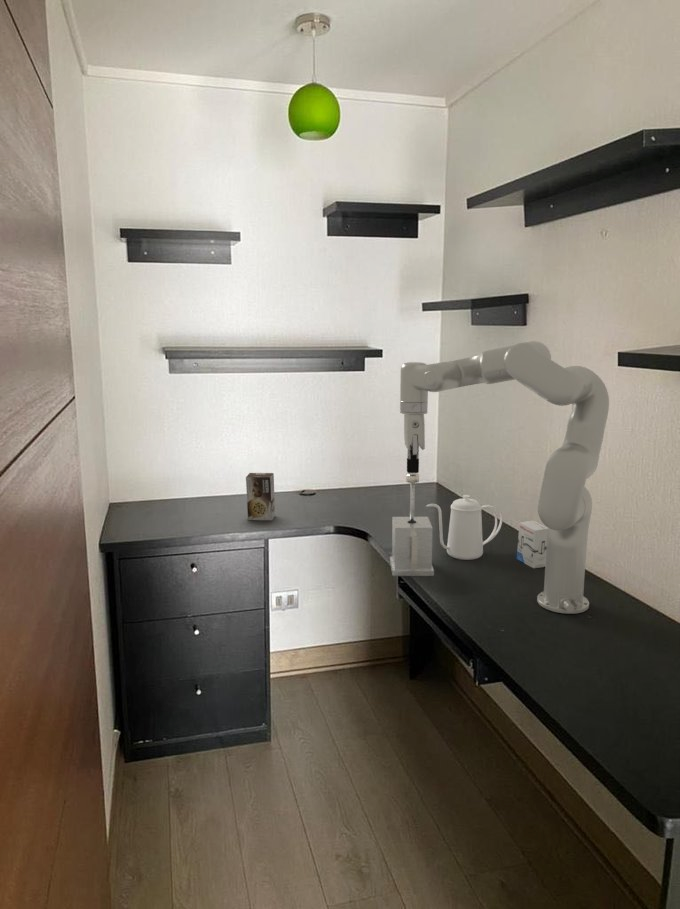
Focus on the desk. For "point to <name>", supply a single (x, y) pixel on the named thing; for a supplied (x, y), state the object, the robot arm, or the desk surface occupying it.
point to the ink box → (532, 544)
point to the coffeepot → (466, 528)
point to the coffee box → (260, 496)
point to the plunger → (412, 492)
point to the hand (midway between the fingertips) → (412, 472)
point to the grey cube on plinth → (411, 547)
